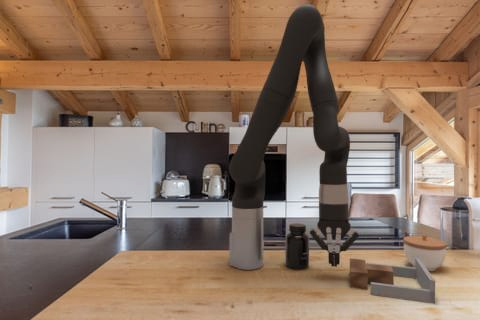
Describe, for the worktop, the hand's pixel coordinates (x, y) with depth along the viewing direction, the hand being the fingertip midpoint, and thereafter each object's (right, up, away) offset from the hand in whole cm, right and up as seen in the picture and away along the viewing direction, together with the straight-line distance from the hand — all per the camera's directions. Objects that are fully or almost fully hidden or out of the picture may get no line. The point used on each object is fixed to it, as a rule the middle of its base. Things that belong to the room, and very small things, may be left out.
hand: (334, 265), depth 82 cm
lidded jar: (+28, -3, +7) cm, 29 cm away
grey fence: (+14, -3, -5) cm, 15 cm away
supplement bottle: (-8, -3, +8) cm, 12 cm away
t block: (+8, -3, -3) cm, 9 cm away
